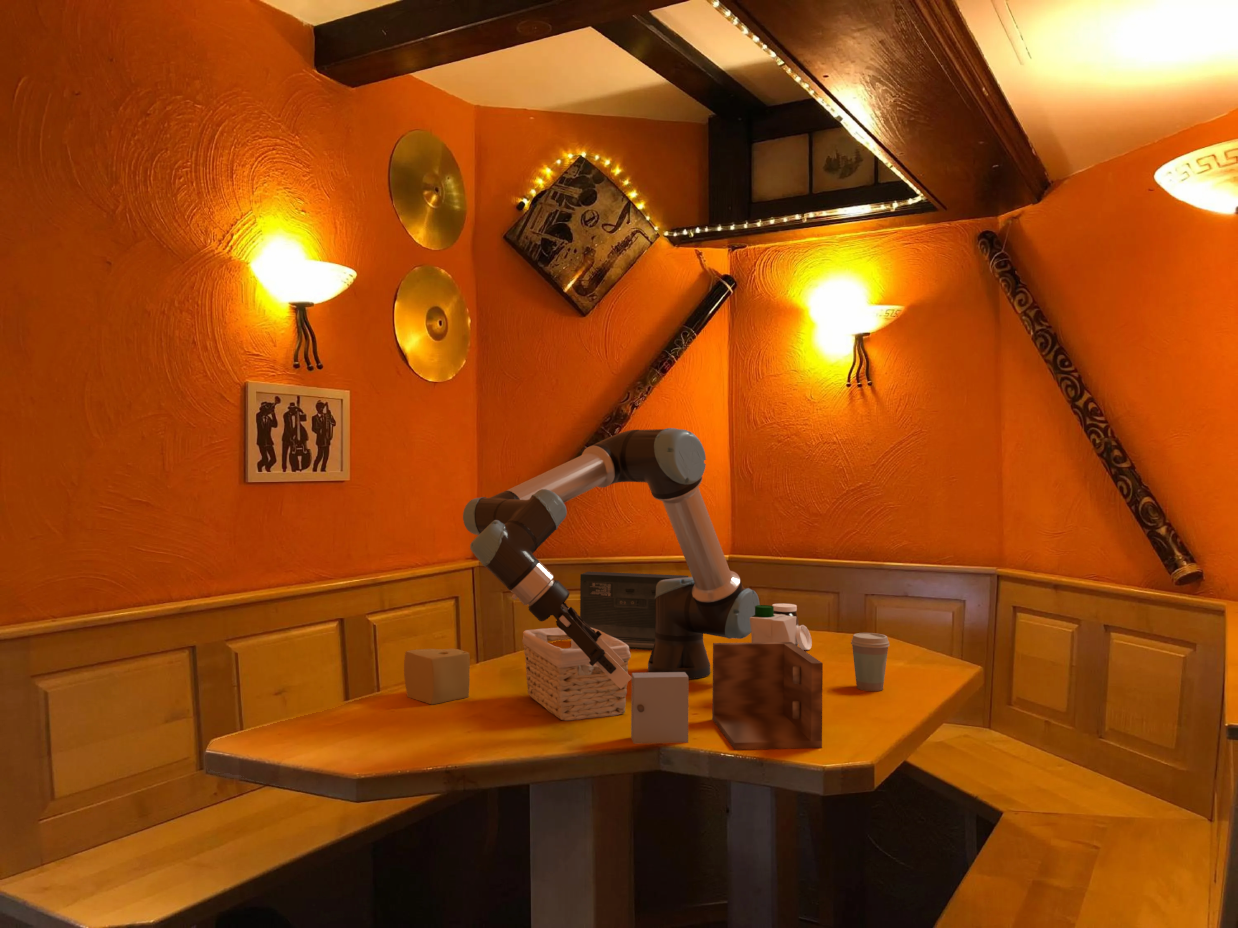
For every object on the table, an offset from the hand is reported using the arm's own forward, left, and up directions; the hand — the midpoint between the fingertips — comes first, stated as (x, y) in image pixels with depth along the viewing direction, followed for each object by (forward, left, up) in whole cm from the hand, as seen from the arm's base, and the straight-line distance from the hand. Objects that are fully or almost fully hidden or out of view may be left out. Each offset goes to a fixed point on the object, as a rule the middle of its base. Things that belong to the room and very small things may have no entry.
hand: (622, 674), depth 174 cm
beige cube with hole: (-51, +3, -12) cm, 52 cm away
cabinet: (+18, +21, -12) cm, 30 cm away
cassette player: (-49, +75, -12) cm, 91 cm away
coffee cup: (+21, +68, -12) cm, 72 cm away
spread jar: (-14, +101, -12) cm, 102 cm away
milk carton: (+8, +45, -12) cm, 47 cm away
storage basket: (-23, +15, -13) cm, 30 cm away
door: (+5, +5, -12) cm, 14 cm away
